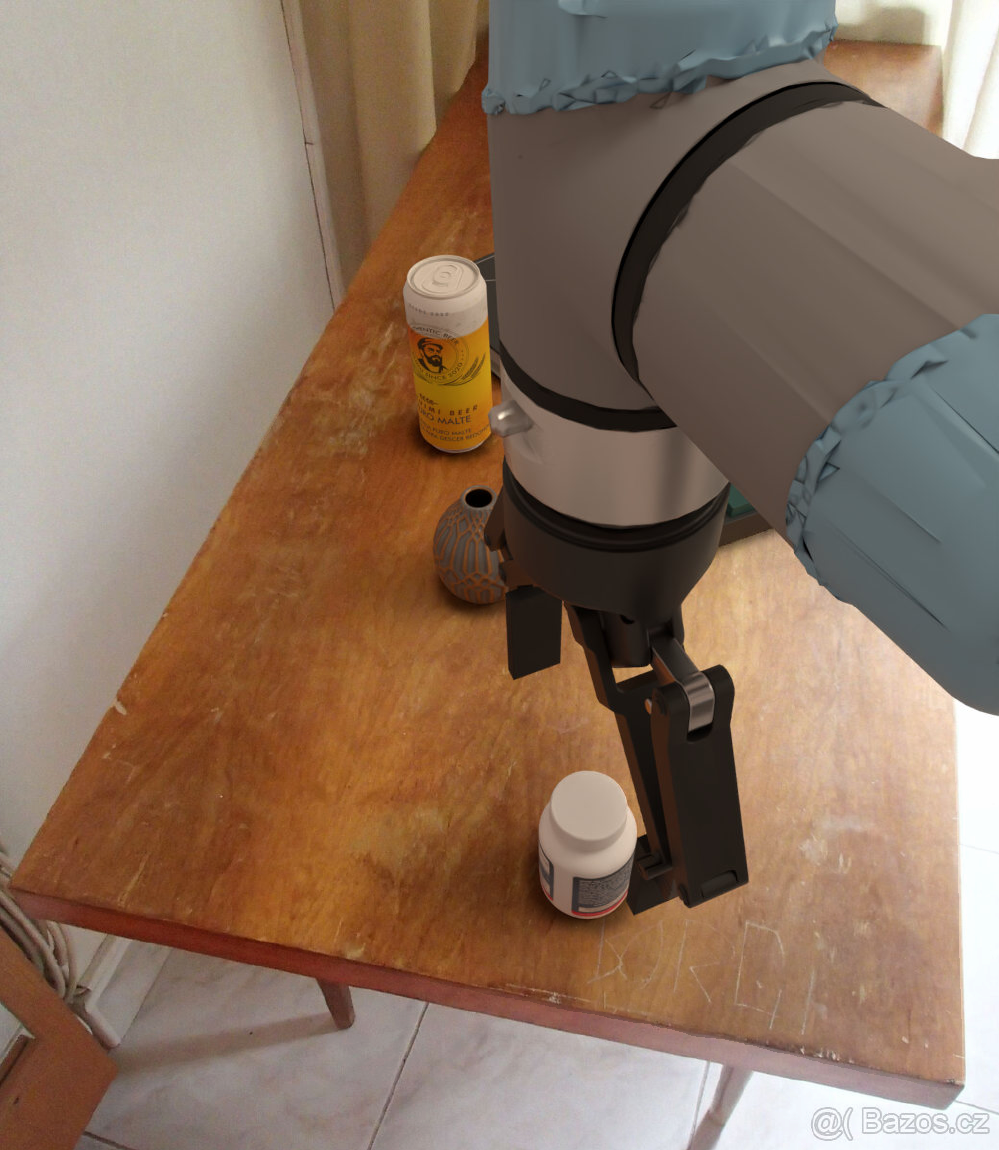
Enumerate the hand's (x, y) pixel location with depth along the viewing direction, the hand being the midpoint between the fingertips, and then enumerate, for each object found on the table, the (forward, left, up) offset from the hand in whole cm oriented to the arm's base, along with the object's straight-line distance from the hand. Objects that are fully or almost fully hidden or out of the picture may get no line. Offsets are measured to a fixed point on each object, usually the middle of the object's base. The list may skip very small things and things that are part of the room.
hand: (590, 772), depth 48 cm
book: (+52, -22, -12) cm, 58 cm away
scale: (+26, -24, -12) cm, 37 cm away
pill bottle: (0, 0, -12) cm, 12 cm away
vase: (+23, -3, -12) cm, 26 cm away
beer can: (+39, -7, -12) cm, 41 cm away
